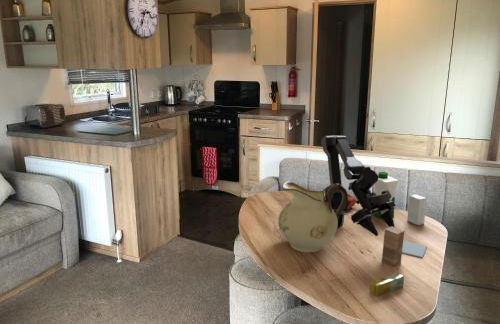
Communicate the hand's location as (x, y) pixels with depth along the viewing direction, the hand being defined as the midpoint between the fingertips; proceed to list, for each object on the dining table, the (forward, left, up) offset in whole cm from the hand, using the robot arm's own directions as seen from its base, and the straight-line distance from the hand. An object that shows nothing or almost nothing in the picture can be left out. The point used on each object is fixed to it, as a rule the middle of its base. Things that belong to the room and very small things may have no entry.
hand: (385, 232), depth 140 cm
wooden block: (+3, -1, -10) cm, 11 cm away
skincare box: (+4, +41, -10) cm, 42 cm away
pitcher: (-28, -4, -10) cm, 30 cm away
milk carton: (-10, +41, -10) cm, 43 cm away
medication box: (+6, -20, -11) cm, 23 cm away
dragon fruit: (-28, +41, -10) cm, 51 cm away
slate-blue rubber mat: (+7, +13, -10) cm, 18 cm away
